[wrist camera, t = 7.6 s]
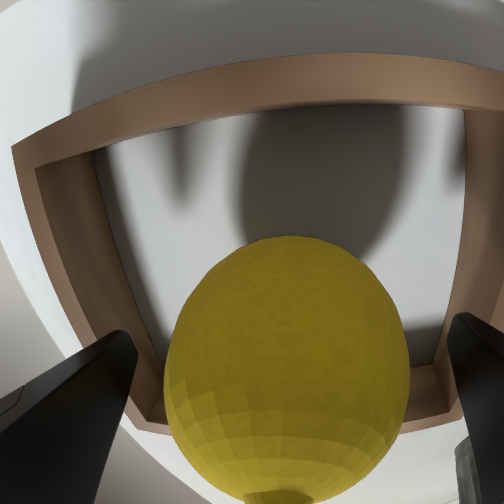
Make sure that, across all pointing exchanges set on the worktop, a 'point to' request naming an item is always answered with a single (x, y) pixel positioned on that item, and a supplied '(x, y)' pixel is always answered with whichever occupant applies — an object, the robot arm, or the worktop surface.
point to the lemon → (287, 372)
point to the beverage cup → (467, 474)
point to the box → (244, 102)
